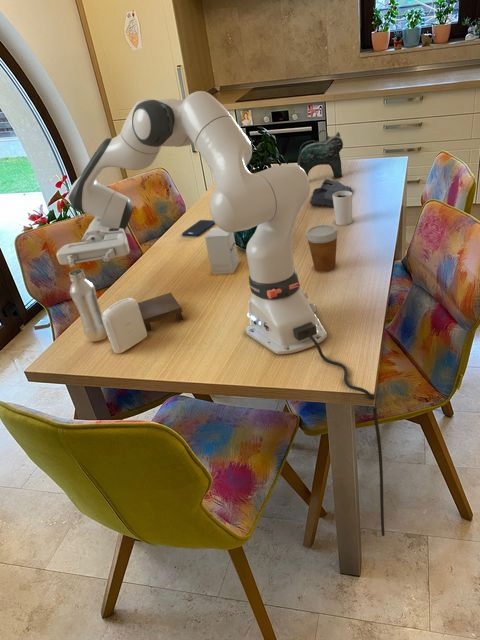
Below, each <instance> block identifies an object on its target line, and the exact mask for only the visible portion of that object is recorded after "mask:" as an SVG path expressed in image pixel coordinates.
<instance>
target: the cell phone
mask: <svg viewBox="0 0 480 640" xmlns="http://www.w3.org/2000/svg"><path fill="white" fill-rule="evenodd" d="M214 225H216V224H215V222H214V220H213V219H200V220H198V221H197V222H196V223H194V224H193V225H191V226H189V228H187V229H186V230H184V231H183V232H182V233H181V235H182V236H184V237H186V236H187V237H199V236H201V235H202V234H204V233H205V232H206V231H207V230H209V229H211V227H213V226H214Z"/></svg>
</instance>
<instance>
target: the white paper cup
mask: <svg viewBox="0 0 480 640" xmlns="http://www.w3.org/2000/svg"><path fill="white" fill-rule="evenodd" d="M333 204H334V207H333V210H334V219H335V224H336V225H337V226H347V225H350V224H351V223H352V222H353V193H352V191H351V192H350V191H339V192H336V193H334V194H333Z"/></svg>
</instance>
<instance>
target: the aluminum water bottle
mask: <svg viewBox="0 0 480 640" xmlns="http://www.w3.org/2000/svg"><path fill="white" fill-rule="evenodd" d="M68 276H69V281H70V282H71V285H70V287H69V296H70V298H71V299H72V301H73V303H74V305H75V307H76V309H77V311H78V314H79V316H80V319H81V323H82V328H83V333H84V335H85V337H86V339H87V340H88V341H91V342H99V341H103V340H105V339H107V337H108V335H107V332H106V329H105V327H104V324H103V321H102V318H101V315H102V314H103V312H102V311H101V308H100V304H99V301H98V297H97V295H98V294H97V291H96V287H95V285H94V283H93V282H91V281H90V280H89V279H87V278H86V274H85V271H84V269H83V268H76V269H72V270H71V271H69V273H68Z"/></svg>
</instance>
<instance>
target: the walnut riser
mask: <svg viewBox="0 0 480 640" xmlns="http://www.w3.org/2000/svg"><path fill="white" fill-rule="evenodd" d="M137 304H138V306H139V309H140V312H141V316H142V319H143V322H144V325H145V328H146V332H147V333H149V332H152V331H153V328H152V324H151V323H153V322H156V321H159V320H163V319H166V318H169V317H172V316H175V317H176V320H177V322H182V321H184V317H183V308H182V306H181V305H180V304H179V302H178V301H177V299H176V298H175V296H174V295H173V293H172V292H168V293H165V294H161V295H158V296H155V297H152V298H149V299H146V300H143V301H139V302H137Z"/></svg>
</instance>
